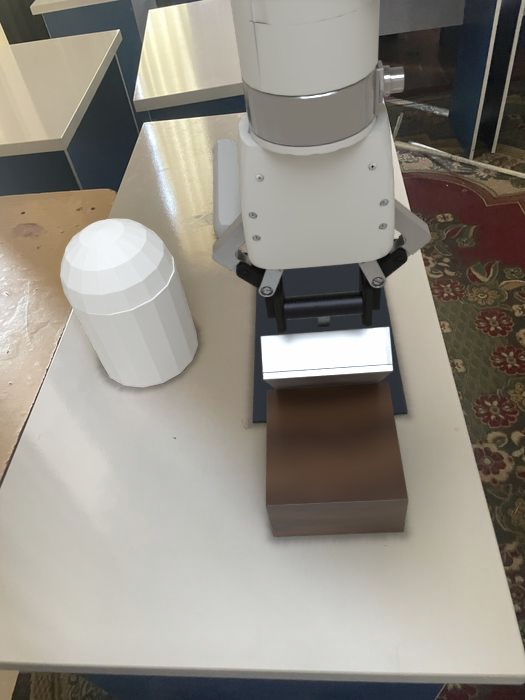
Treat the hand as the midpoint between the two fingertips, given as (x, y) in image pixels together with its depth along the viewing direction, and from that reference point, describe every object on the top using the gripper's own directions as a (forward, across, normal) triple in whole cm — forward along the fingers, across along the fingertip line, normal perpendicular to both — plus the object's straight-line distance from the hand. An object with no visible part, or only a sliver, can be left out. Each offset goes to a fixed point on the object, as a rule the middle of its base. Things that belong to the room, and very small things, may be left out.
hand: (323, 315), depth 46 cm
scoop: (+8, 0, 0) cm, 8 cm away
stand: (+23, 0, +2) cm, 23 cm away
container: (+23, +23, -19) cm, 38 cm away
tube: (+23, +14, -51) cm, 58 cm away
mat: (+23, 0, -23) cm, 33 cm away
